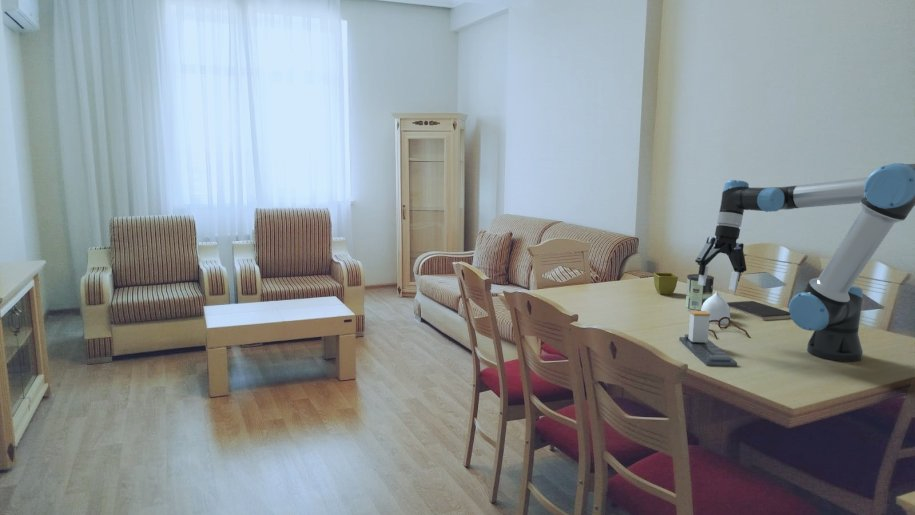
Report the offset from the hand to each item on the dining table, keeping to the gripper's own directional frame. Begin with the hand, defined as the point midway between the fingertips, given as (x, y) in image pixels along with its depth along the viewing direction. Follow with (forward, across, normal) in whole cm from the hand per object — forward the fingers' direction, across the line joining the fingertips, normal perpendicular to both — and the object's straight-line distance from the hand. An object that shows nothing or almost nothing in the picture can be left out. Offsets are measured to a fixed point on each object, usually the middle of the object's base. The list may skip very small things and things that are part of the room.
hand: (716, 287), depth 210 cm
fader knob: (+18, +6, +2) cm, 19 cm away
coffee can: (+11, -29, -38) cm, 49 cm away
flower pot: (+8, -35, -68) cm, 76 cm away
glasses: (+16, -13, -7) cm, 22 cm away
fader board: (+21, +8, +9) cm, 24 cm away
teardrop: (+13, -23, -22) cm, 34 cm away
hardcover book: (+8, -49, -27) cm, 57 cm away
